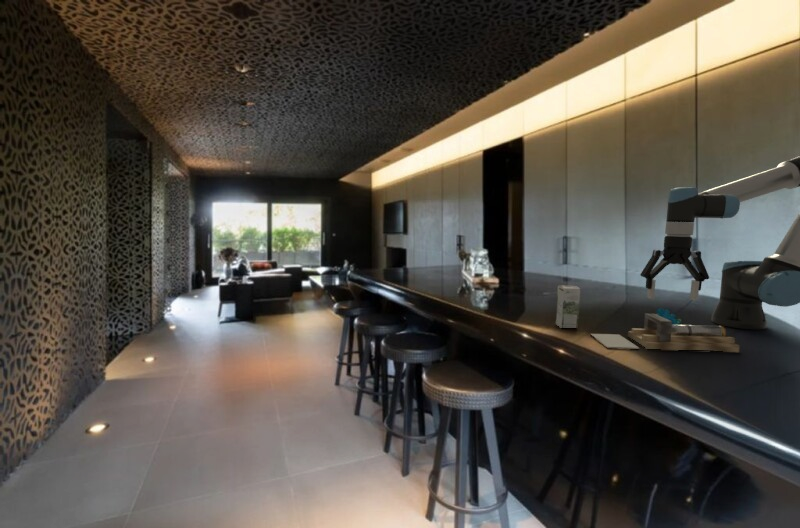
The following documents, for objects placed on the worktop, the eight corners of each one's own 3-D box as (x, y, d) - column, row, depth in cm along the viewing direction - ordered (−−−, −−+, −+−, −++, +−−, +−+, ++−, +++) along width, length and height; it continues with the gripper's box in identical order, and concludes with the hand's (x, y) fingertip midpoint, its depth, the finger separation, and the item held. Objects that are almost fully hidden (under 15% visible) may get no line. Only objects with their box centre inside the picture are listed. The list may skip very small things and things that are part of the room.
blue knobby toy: (671, 332, 128) (653, 306, 134) (656, 341, 132) (640, 315, 138) (692, 333, 132) (674, 307, 138) (677, 341, 137) (660, 316, 142)
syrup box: (571, 324, 143) (573, 284, 141) (578, 329, 137) (580, 287, 135) (555, 324, 143) (557, 284, 141) (561, 329, 137) (563, 287, 135)
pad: (619, 336, 129) (619, 334, 129) (639, 349, 116) (639, 347, 116) (590, 335, 130) (590, 333, 130) (606, 348, 117) (607, 346, 117)
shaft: (717, 335, 122) (718, 324, 121) (725, 339, 118) (726, 327, 118) (665, 334, 123) (666, 323, 123) (672, 337, 120) (673, 326, 119)
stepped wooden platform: (710, 339, 126) (713, 314, 125) (738, 352, 114) (741, 324, 113) (627, 337, 128) (629, 312, 127) (647, 349, 116) (649, 322, 115)
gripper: (711, 235, 133) (704, 298, 136) (632, 234, 135) (627, 295, 138) (727, 237, 125) (719, 303, 128) (644, 235, 128) (638, 300, 130)
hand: (671, 299), depth 133 cm, fingers open, 13 cm apart
